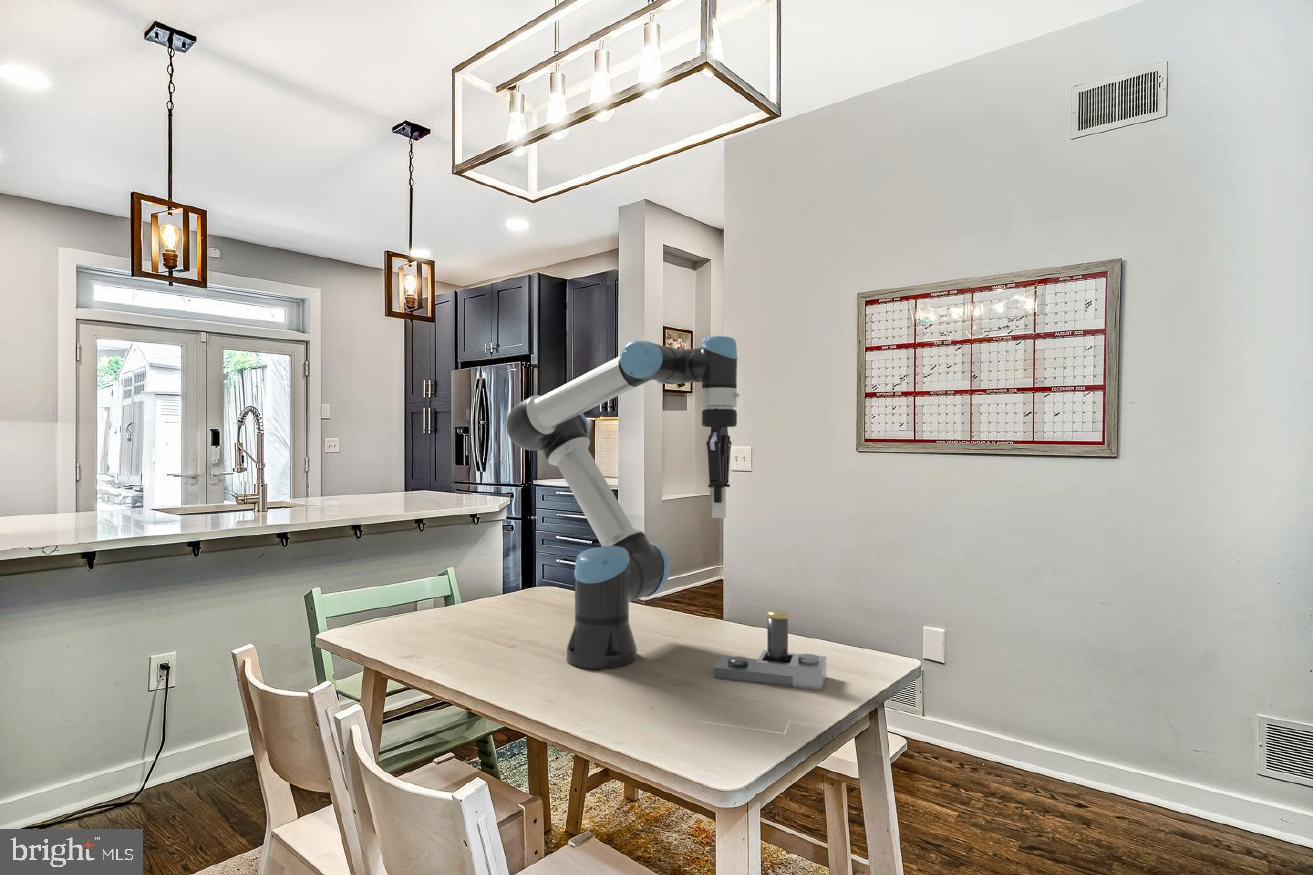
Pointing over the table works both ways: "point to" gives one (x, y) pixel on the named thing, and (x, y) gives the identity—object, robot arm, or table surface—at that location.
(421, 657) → the table surface
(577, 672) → the table surface
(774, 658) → the pin
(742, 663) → the metal block with stud
